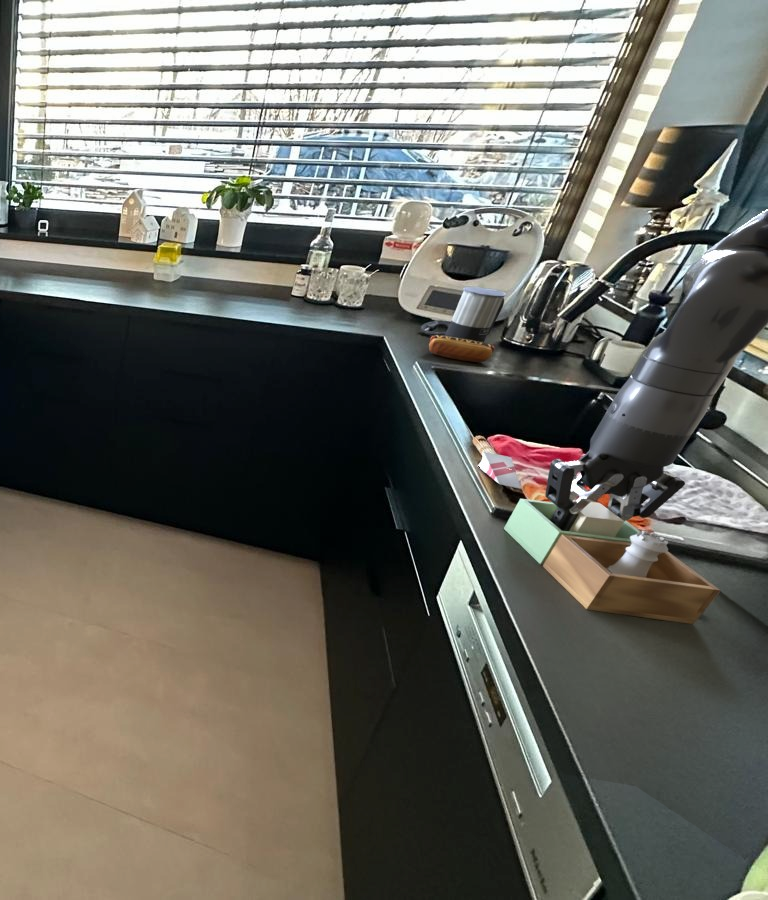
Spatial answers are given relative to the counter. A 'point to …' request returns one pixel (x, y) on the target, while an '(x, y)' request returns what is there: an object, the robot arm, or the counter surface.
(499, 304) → the milk frother
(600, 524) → the cream block
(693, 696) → the counter surface
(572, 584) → the oak bin
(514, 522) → the sage bin
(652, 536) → the rook chess piece
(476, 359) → the hot dog
